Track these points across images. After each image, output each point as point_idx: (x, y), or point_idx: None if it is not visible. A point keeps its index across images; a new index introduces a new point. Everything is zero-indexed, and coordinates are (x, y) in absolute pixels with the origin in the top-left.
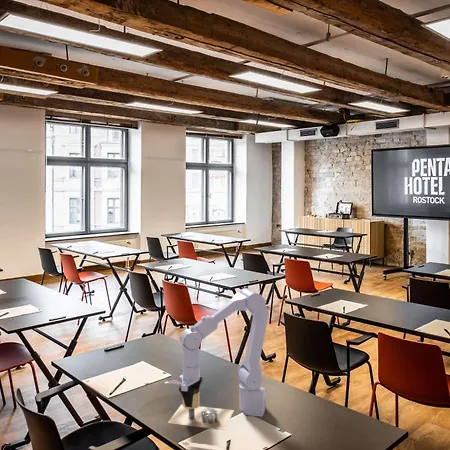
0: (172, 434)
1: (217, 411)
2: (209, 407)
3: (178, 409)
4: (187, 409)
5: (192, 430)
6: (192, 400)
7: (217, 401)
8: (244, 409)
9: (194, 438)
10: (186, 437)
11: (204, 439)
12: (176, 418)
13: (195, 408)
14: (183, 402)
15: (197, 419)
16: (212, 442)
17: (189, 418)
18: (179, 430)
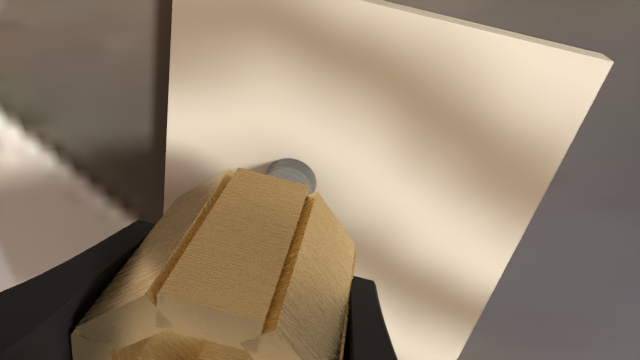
0: (55, 26)
1: (403, 353)
2: (481, 310)
3: (481, 41)
4: (467, 136)
5: (152, 178)
6: None
7: (632, 350)
8: None
9: (54, 194)
10: (49, 141)
11: (63, 251)
12: (274, 42)
13: (479, 207)
14: (190, 207)
15: None
16: None
17: (269, 167)
18: (130, 80)
